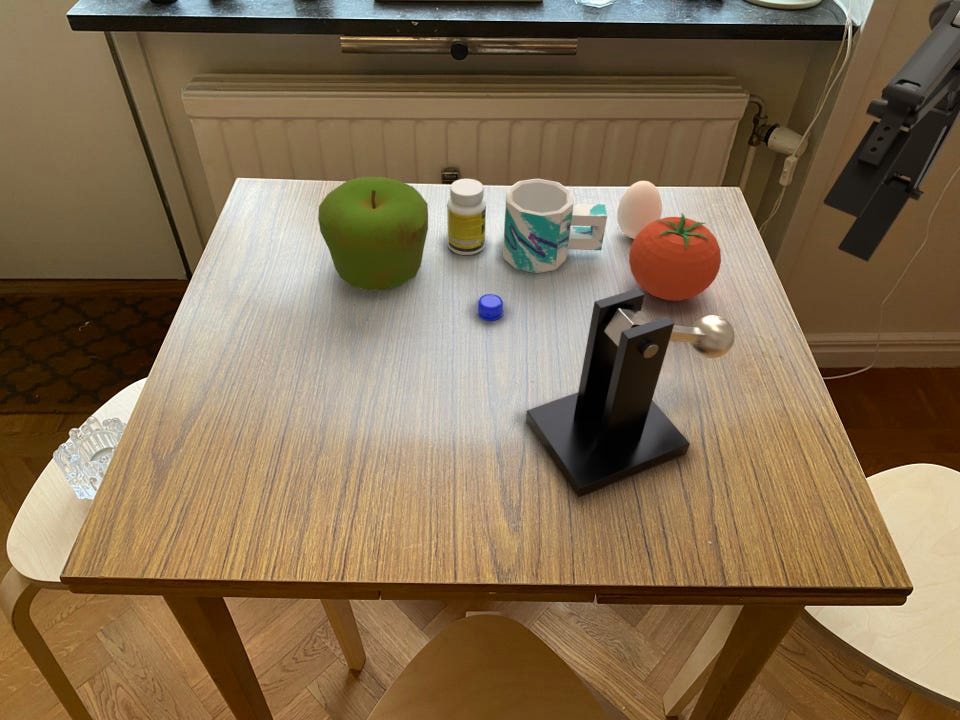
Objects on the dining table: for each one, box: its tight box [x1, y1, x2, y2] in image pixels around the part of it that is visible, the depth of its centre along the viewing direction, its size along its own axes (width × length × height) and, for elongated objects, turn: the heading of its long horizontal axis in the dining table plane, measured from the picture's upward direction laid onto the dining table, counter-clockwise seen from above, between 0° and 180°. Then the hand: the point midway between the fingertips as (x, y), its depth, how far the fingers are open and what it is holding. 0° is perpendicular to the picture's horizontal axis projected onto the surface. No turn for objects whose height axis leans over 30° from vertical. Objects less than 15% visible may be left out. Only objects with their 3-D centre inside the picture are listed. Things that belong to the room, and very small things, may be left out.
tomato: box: [628, 212, 722, 302], centre depth 81 cm, size 10×10×10 cm
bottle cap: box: [476, 293, 504, 322], centre depth 80 cm, size 3×3×2 cm
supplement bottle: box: [446, 178, 487, 256], centre depth 87 cm, size 5×5×8 cm
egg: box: [616, 180, 663, 240], centre depth 90 cm, size 6×6×8 cm
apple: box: [317, 176, 429, 291], centre depth 82 cm, size 12×12×11 cm
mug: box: [502, 178, 608, 274], centre depth 86 cm, size 8×12×8 cm
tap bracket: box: [525, 287, 691, 498], centre depth 63 cm, size 12×10×16 cm
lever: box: [604, 308, 735, 360], centre depth 62 cm, size 14×4×4 cm, turn 116°
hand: (847, 234), depth 58 cm, fingers open, 13 cm apart
